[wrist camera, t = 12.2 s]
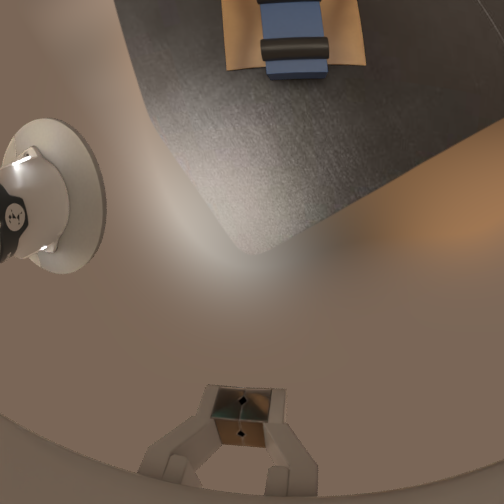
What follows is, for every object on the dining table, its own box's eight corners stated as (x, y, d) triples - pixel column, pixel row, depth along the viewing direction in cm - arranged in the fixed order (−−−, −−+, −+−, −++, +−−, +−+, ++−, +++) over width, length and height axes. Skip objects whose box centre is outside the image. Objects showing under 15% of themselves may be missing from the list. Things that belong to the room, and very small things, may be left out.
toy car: (262, 72, 25) (252, -29, 21) (269, 81, 31) (261, -6, 26) (331, 69, 24) (317, -32, 19) (326, 79, 30) (315, -9, 25)
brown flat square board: (227, 70, 31) (226, 70, 31) (219, -34, 25) (218, -35, 25) (365, 65, 28) (366, 65, 28) (347, -41, 22) (347, -42, 22)
